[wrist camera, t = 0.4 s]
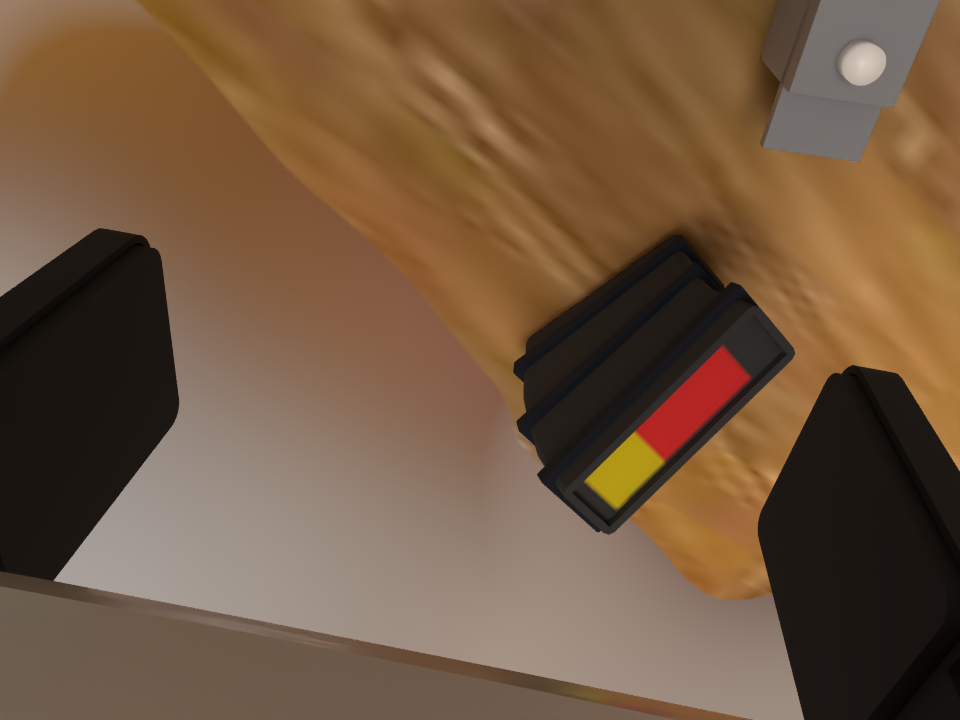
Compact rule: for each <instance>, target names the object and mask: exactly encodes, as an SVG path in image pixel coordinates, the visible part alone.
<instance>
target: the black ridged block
mask: <svg viewBox="0 0 960 720" xmlns="http://www.w3.org/2000/svg"><path fill="white" fill-rule="evenodd" d="M794 355H795V352H794V348H793V347H792V346H791V344H790V343H789V342H788V341H787V340H786V338H785V337H784V336H783V335H782V334H781V332H780V331H779V330H778V329H777V328H776V326H775V325H774V324H773V323H772V322H771V320H770V319H769V318H768V317H767V316H766V314H765V313H764V312H763V311H762V310H761V308H759V306H758V305H757V304H756V303H755V302H754V300H753V299H752V298H751V297H750V296H749V294H748V293H747V292H746V291H745V290H744V288H743V287H742V286H741V285H738V284H735V283H732V282H731V283H730V284H729V285H728V286H727V287H726V288H725V287H724V284H723V283H722V282H721V281H720V280H719V279H718V277H717V276H716V275H715V274H714V273H713V271H712V270H711V269H710V268H709V267H708V266H707V264H706V263H705V262H704V261H703V260H702V258H701V257H700V256H699V255H698V254H697V253H696V251H695V250H694V249H693V248H692V247H691V245H690V244H689V243H688V242H687V241H686V240H685V238H684V237H683V236H682V235H681V236H677V235H675V236H672V237H671V238H669V239H668V240H667V241H665V242H664V243H662V244H661V245H660V246H658V247H657V248H655V249H654V250H653V251H651V252H650V253H648V254H647V255H646V256H644V257H643V258H641V259H640V260H639V261H637V262H636V263H634V264H633V265H632V266H630V267H629V268H627V269H626V270H625V271H623V272H622V273H620V274H619V275H618V276H616V277H615V278H613V279H612V280H611V281H609V282H608V283H606V284H605V285H604V286H602V287H601V288H599V289H598V290H597V291H595V292H594V293H592V294H591V295H590V296H588V297H587V298H585V299H584V300H583V301H581V302H580V303H578V304H577V305H576V306H574V307H573V308H571V309H570V310H569V311H567V312H566V313H564V314H563V315H562V316H560V317H559V318H557V319H556V320H555V321H553V322H552V323H550V324H549V325H548V326H546V327H545V328H543V329H542V330H540V331H539V332H538V333H536V334H535V335H533V336H532V337H531V338H529V339H528V341H527V342H526V354H525V355H523V356H522V357H521V358H519V359H518V360H517V361H515V362H514V370H513V372H514V374H515V375H516V376H517V377H518V378H519V379H521V380H522V381H523V382H524V402H525V408H526V413H525V414H524V415H523V416H521V417H520V418H519V419H518V420H517V426H518V429H519V432H521V433H522V434H523V435H524V436H525V437H526V438H527V439H528V440H529V441H530V442H531V443H533V444H534V445H535V447H536V451H537V454H538V456H539V459H540V460H541V462H542V463H543V465H544V466H545V467H544V468H543V469H542V470H541V471H540V472H539V473H538V474H537V475H538V477H539V479H540V480H541V482H542V483H543V484H544V485H545V486H546V487H547V488H548V489H550V490H551V491H552V492H553V493H554V494H555V495H556V496H557V497H559V498H560V499H561V500H562V501H563V502H564V503H565V504H566V505H567V506H569V507H570V508H571V509H572V510H573V511H574V512H575V513H576V514H577V515H579V516H580V517H581V518H582V519H583V520H584V521H585V522H586V523H587V524H589V525H590V526H591V527H592V528H593V529H595V531H596V532H600V531H602V532H603V533H606V534H611V533H613V532H615V531H616V530H617V529H618V528H619V527H620V526H621V525H622V524H623V523H624V522H625V521H626V520H627V519H628V518H629V517H630V516H631V515H632V514H634V513H635V512H636V511H637V510H638V509H639V508H640V507H641V506H642V505H643V504H644V503H645V502H646V501H647V500H648V499H649V498H650V497H651V496H652V495H653V494H654V493H655V492H656V491H657V490H658V489H659V488H660V487H661V486H662V485H663V484H664V483H665V482H666V481H667V480H669V479H670V478H671V477H672V476H673V475H674V474H675V473H676V472H677V471H678V470H679V469H680V468H681V467H682V466H683V465H684V464H685V463H686V462H687V461H688V460H689V459H690V458H691V457H692V456H693V455H694V454H695V453H696V452H697V451H698V450H699V449H700V448H701V447H702V446H704V445H705V444H706V443H707V442H708V441H709V440H710V439H711V438H712V437H713V436H714V435H715V434H716V433H717V432H718V431H719V430H720V429H721V428H722V427H723V426H724V425H725V424H726V423H727V422H728V421H729V420H730V419H731V418H732V417H733V416H734V415H735V414H736V413H737V412H739V411H740V410H741V409H742V408H743V407H744V406H745V405H746V404H747V403H748V402H749V401H750V400H751V399H752V398H753V397H754V396H755V395H756V394H757V393H758V392H759V391H760V390H761V389H762V388H763V387H764V386H765V385H766V384H767V383H768V382H769V381H770V380H771V379H772V378H773V377H775V376H776V375H777V374H778V373H779V372H780V371H781V370H782V369H783V368H784V367H785V366H786V365H787V364H788V363H789V362H790V361H791V360H792V359H793V357H794Z"/></svg>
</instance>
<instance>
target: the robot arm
mask: <svg viewBox="0 0 960 720" xmlns="http://www.w3.org/2000/svg"><path fill="white" fill-rule="evenodd" d="M178 408H179V397H178V388H177V380H176V373H175V364H174V357H173V348H172V341H171V333H170V324H169V317H168V308H167V300H166V292H165V285H164V276H163V268H162V261H161V256H160V254H159V252H158V250H156V249H155V248H150V245H149V243H148V241H147V239H146V238H145V237H143V236H142V235H136V234H131V233H125V232H120V231H114V230H109V229H102V228H99V229H97V230H94V231H93V232H92V233H90V234H89V235H87V236H86V237H84V238H83V239H82V240H80V241H79V242H77V243H76V244H75V245H73V246H72V247H70V248H69V249H67V250H66V251H65V252H63V253H62V254H60V255H59V256H58V257H56V258H55V259H53V260H52V261H51V262H49V263H48V264H46V265H45V266H44V267H42V268H41V269H39V270H38V271H36V272H35V273H34V274H32V275H31V276H29V277H28V278H27V279H25V280H24V281H22V282H21V283H19V284H18V285H17V286H16V287H14V288H12V289H11V290H10V291H8V292H7V293H5V294H4V295H3V296H1V297H0V720H751V719H746V718H741V717H736V716H731V715H726V714H721V713H716V712H712V711H707V710H702V709H697V708H692V707H687V706H682V705H677V704H672V703H668V702H662V701H658V700H653V699H648V698H643V697H638V696H633V695H628V694H624V693H619V692H613V691H609V690H604V689H599V688H594V687H589V686H584V685H579V684H575V683H569V682H565V681H559V680H555V679H550V678H545V677H540V676H535V675H530V674H525V673H520V672H515V671H510V670H505V669H500V668H495V667H490V666H485V665H480V664H475V663H470V662H465V661H460V660H455V659H450V658H445V657H440V656H435V655H430V654H425V653H419V652H415V651H409V650H405V649H400V648H394V647H390V646H385V645H380V644H374V643H369V642H364V641H359V640H354V639H349V638H344V637H339V636H334V635H329V634H324V633H319V632H313V631H309V630H304V629H299V628H293V627H288V626H283V625H278V624H273V623H268V622H263V621H258V620H253V619H248V618H242V617H237V616H232V615H226V614H221V613H216V612H211V611H206V610H201V609H195V608H191V607H185V606H180V605H175V604H170V603H165V602H159V601H154V600H149V599H143V598H139V597H134V596H128V595H123V594H118V593H113V592H107V591H102V590H97V589H92V588H87V587H81V586H76V585H71V584H66V583H61V582H55V581H53V580H54V579H55V578H56V576H57V575H58V574H59V573H60V571H61V570H62V569H63V567H64V566H65V565H66V564H67V562H68V561H69V560H70V558H71V557H72V556H73V554H74V553H75V552H76V550H77V549H78V548H79V547H80V545H81V544H82V543H83V541H84V540H85V539H86V537H87V536H88V535H89V534H90V532H91V531H92V530H93V528H94V527H95V526H96V524H97V523H98V522H99V520H100V519H101V518H102V516H103V515H104V514H105V513H106V511H107V510H108V509H109V507H110V506H111V505H112V504H113V502H114V501H115V500H116V498H117V497H118V496H119V494H120V493H121V492H122V491H123V489H124V488H125V487H126V485H127V484H128V483H129V481H130V480H131V479H132V477H133V476H134V475H135V473H136V472H137V471H138V470H139V468H140V467H141V466H142V464H143V463H144V462H145V461H146V459H147V458H148V457H149V455H150V454H151V453H152V451H153V450H154V449H155V447H156V446H157V445H158V444H159V442H160V441H161V440H162V438H163V437H164V436H165V434H166V433H167V432H168V431H169V429H170V428H171V427H172V425H173V423H174V421H175V419H176V417H177V413H178ZM758 537H759V542H760V546H761V550H762V554H763V557H764V561H765V565H766V569H767V573H768V577H769V581H770V585H771V589H772V593H773V597H774V601H775V605H776V609H777V613H778V617H779V621H780V625H781V629H782V633H783V636H784V641H785V645H786V649H787V652H788V657H789V661H790V665H791V668H792V672H793V676H794V681H795V684H796V688H797V692H798V696H799V700H800V704H801V708H802V712H803V716H804V720H960V471H959V470H958V468H957V466H956V465H955V463H954V462H953V460H952V458H951V457H950V455H949V453H948V452H947V450H946V449H945V447H944V445H943V444H942V442H941V441H940V439H939V437H938V436H937V434H936V432H935V431H934V429H933V428H932V426H931V424H930V423H929V421H928V420H927V418H926V416H925V415H924V413H923V411H922V410H921V408H920V407H919V405H918V403H917V402H916V400H915V399H914V397H913V395H912V394H911V392H910V390H909V389H908V387H907V386H906V384H905V382H904V381H903V379H902V378H901V377H900V376H899V375H898V374H896V373H893V372H887V371H882V370H876V369H871V368H865V367H860V366H854V365H852V366H850V367H848V368H847V369H846V370H844V371H843V373H842V374H839V373H834V374H832V375H831V376H830V377H829V378H828V379H827V381H826V383H825V385H824V387H823V389H822V391H821V393H820V395H819V397H818V399H817V401H816V403H815V405H814V407H813V409H812V411H811V413H810V415H809V417H808V419H807V421H806V423H805V425H804V427H803V429H802V431H801V433H800V435H799V437H798V439H797V441H796V443H795V445H794V447H793V449H792V451H791V453H790V455H789V457H788V459H787V461H786V463H785V465H784V467H783V469H782V471H781V473H780V475H779V477H778V479H777V481H776V483H775V485H774V487H773V489H772V491H771V493H770V495H769V497H768V499H767V501H766V503H765V505H764V507H763V509H762V511H761V513H760V517H759V521H758Z"/></svg>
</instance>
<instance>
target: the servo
mask: <svg viewBox="0 0 960 720" xmlns="http://www.w3.org/2000/svg"><path fill="white" fill-rule="evenodd" d="M939 1H940V0H778V3H777V6H776V9H775V12H774V15H773V19H772V22H771V25H770V28H769V31H768V35H767V38H766V41H765V44H764V47H763V51H762V54H761V57H760V59H761V60H762V61H763V62H764V64H765V65H766V66H767V67H768V68H769V70H770V71H771V72H772V73H773V74H774V75H775V77H776V78H777V79H778V80H779V81H780V85H779V88H778V91H777V94H776V97H775V100H774V103H773V106H772V109H771V112H770V115H769V118H768V121H767V124H766V127H765V130H764V133H763V136H762V139H761V142H760V144H761V146H762V147H763V148H768V149H775V150H781V151H788V152H795V153H802V154H808V155H815V156H822V157H829V158H835V159H842V160H849V161H855V162H859V161H860V159H861V157H862V154H863V152H864V150H865V147H866V145H867V142H868V140H869V138H870V135H871V133H872V131H873V128H874V126H875V123H876V121H877V119H878V116H879V114H880V112H881V109H882V107H883V106H884V107H891V108H894V106H895V103H896V101H897V99H898V96H899V94H900V92H901V89H902V87H903V85H904V82H905V80H906V78H907V75H908V73H909V71H910V68H911V66H912V64H913V61H914V59H915V57H916V54H917V52H918V50H919V48H920V45H921V43H922V41H923V38H924V36H925V34H926V31H927V29H928V27H929V24H930V22H931V20H932V17H933V15H934V13H935V10H936V8H937V6H938V3H939Z"/></svg>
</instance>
